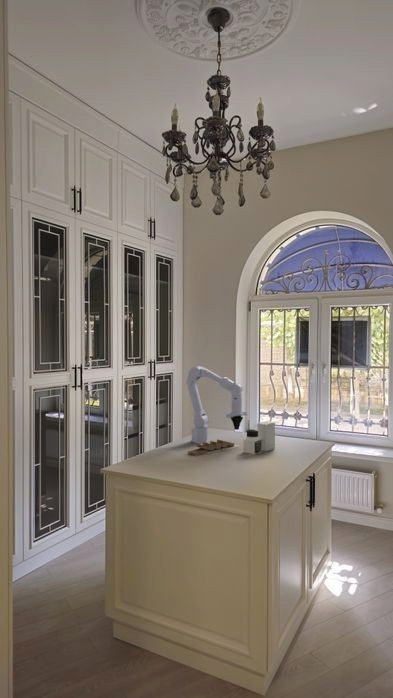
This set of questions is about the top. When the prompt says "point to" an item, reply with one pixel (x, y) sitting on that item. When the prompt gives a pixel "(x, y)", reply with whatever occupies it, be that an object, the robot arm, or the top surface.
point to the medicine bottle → (252, 442)
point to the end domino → (197, 451)
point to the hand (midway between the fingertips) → (236, 429)
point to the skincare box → (267, 435)
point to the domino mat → (221, 449)
